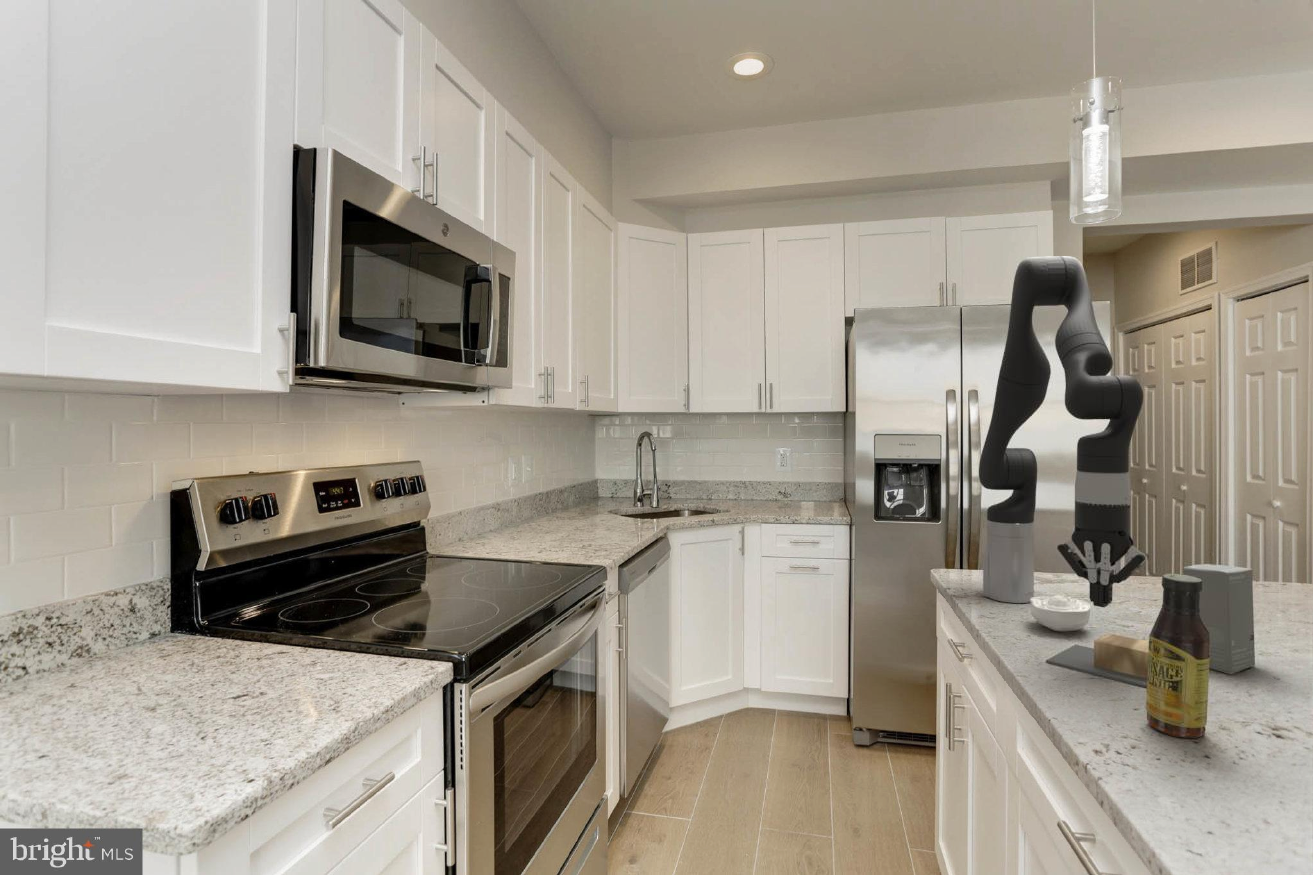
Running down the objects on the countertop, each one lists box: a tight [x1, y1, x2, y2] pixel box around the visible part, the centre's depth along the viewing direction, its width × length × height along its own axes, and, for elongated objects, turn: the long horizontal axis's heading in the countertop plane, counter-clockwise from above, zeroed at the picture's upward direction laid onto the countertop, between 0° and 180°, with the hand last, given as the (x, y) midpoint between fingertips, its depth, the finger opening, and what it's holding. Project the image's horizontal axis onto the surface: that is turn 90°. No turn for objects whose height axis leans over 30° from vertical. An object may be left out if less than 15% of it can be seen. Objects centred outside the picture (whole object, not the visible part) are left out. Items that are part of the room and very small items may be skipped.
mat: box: [1045, 644, 1147, 689], centre depth 110 cm, size 16×12×1 cm
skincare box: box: [1182, 563, 1256, 675], centre depth 111 cm, size 8×7×16 cm
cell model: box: [1029, 594, 1092, 632], centre depth 130 cm, size 10×12×7 cm
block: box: [1093, 632, 1149, 678], centre depth 108 cm, size 4×6×10 cm
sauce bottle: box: [1145, 573, 1210, 739], centre depth 88 cm, size 6×6×20 cm
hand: (1101, 605), depth 111 cm, fingers closed
